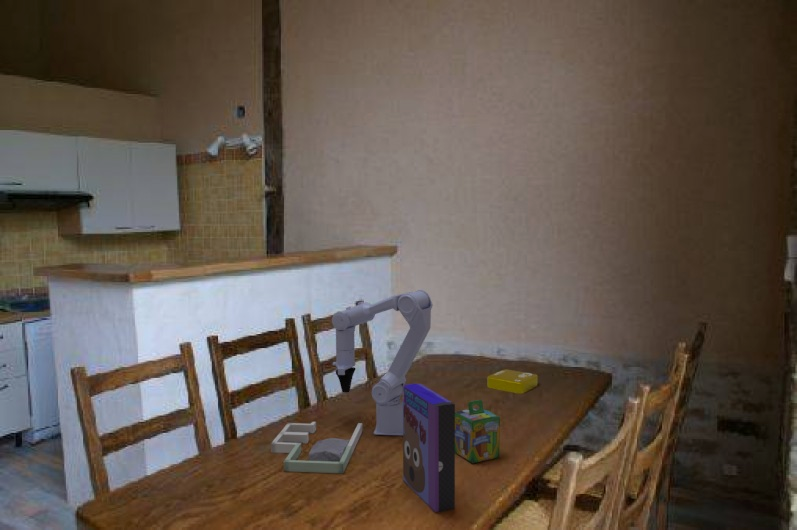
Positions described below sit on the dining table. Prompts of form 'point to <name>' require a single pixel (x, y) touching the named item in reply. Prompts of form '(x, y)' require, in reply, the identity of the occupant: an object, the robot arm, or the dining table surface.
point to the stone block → (328, 450)
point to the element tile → (512, 381)
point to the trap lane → (299, 434)
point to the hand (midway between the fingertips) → (345, 391)
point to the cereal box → (429, 446)
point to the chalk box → (477, 433)
